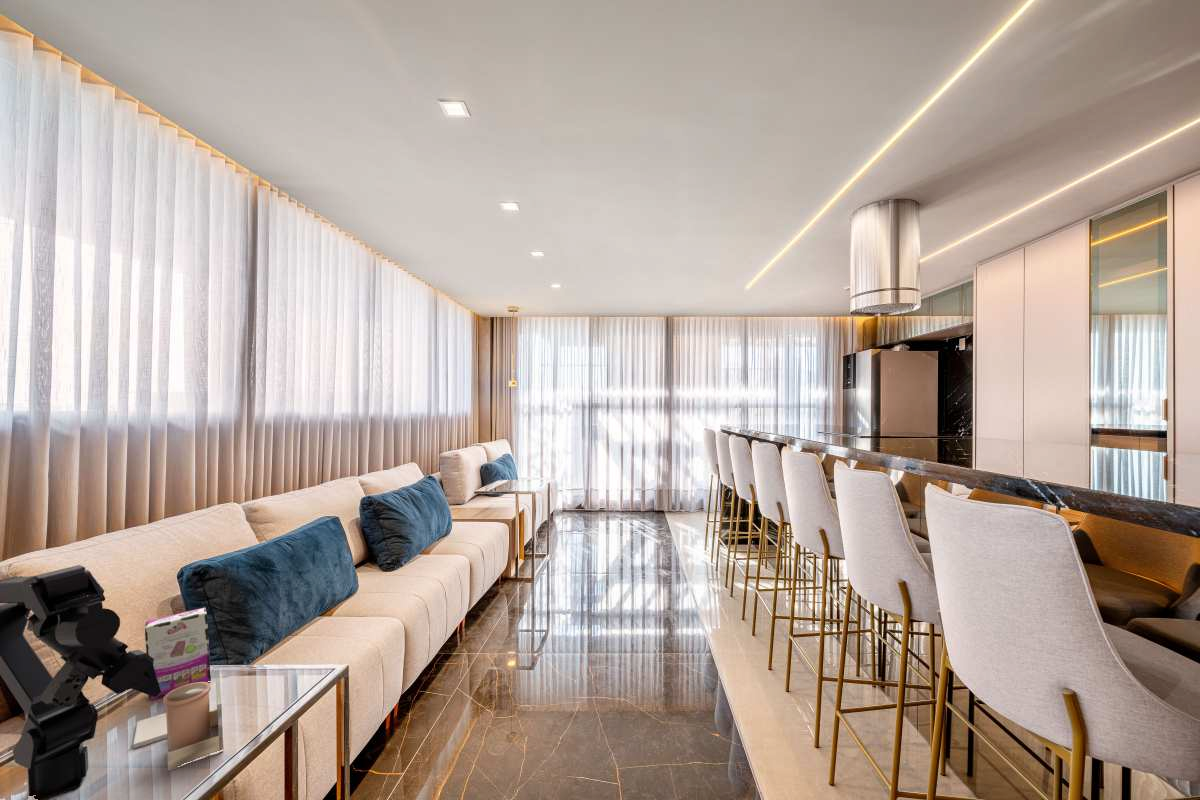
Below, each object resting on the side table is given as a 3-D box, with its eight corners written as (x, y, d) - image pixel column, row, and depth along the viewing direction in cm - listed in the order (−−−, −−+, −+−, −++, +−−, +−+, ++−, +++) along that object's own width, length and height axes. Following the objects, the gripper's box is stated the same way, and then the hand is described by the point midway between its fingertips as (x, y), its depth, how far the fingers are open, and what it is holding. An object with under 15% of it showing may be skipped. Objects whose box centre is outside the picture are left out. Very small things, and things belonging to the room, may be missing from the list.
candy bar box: (209, 674, 127) (206, 606, 127) (211, 683, 123) (208, 612, 123) (148, 692, 120) (145, 620, 120) (148, 702, 116) (144, 627, 116)
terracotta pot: (165, 765, 96) (162, 707, 96) (166, 745, 101) (164, 690, 101) (213, 748, 100) (210, 692, 100) (212, 730, 106) (210, 677, 105)
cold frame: (168, 771, 94) (165, 720, 94) (170, 738, 103) (168, 692, 103) (223, 751, 99) (221, 703, 99) (221, 721, 108) (219, 677, 108)
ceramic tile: (133, 748, 101) (133, 744, 101) (137, 725, 108) (137, 721, 108) (193, 729, 106) (193, 725, 106) (193, 708, 113) (193, 704, 113)
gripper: (6, 671, 90) (81, 720, 97) (42, 697, 80) (122, 749, 88) (78, 614, 98) (142, 662, 105) (118, 631, 88) (186, 683, 96)
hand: (147, 688), depth 98 cm, fingers open, 9 cm apart
